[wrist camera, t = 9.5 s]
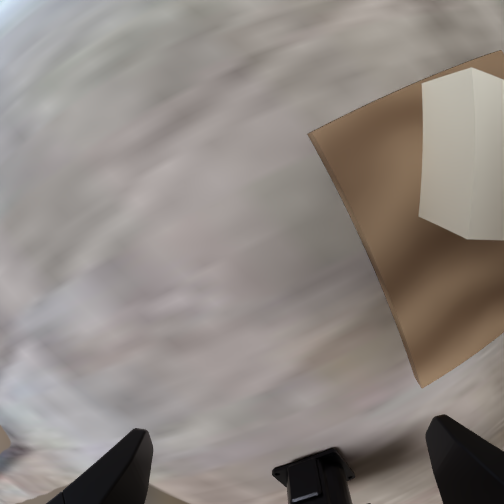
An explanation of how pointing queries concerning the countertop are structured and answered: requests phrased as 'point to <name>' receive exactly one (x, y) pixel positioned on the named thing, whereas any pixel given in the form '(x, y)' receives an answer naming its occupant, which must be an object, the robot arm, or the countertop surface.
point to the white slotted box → (464, 154)
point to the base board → (415, 231)
